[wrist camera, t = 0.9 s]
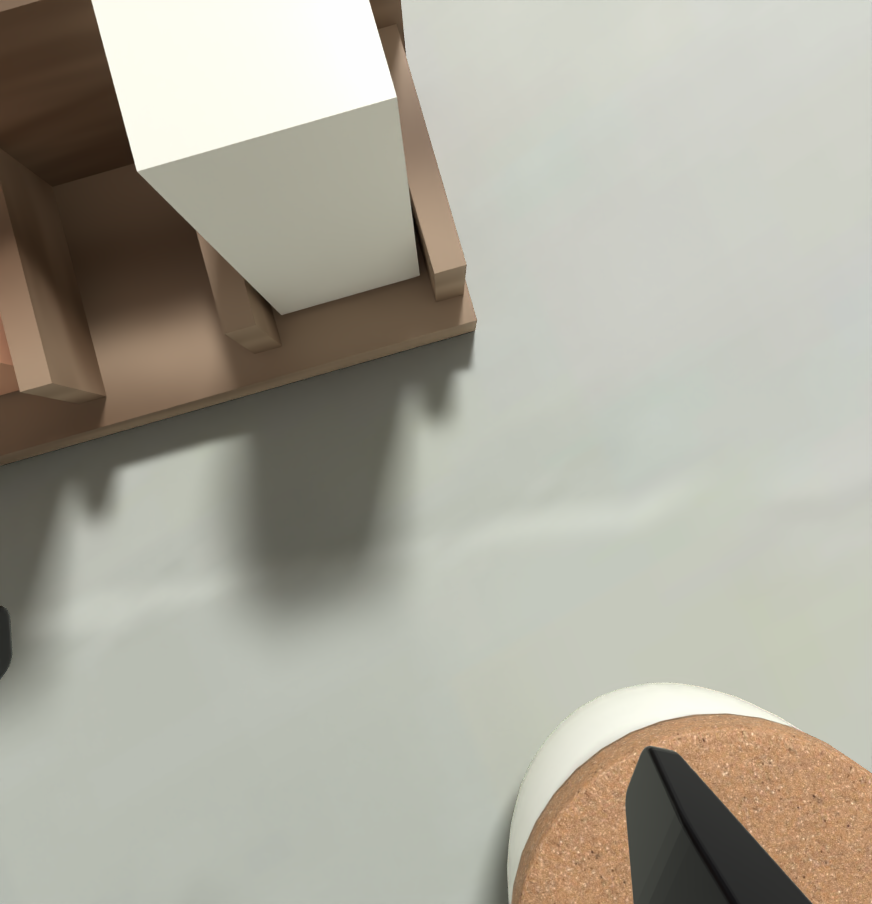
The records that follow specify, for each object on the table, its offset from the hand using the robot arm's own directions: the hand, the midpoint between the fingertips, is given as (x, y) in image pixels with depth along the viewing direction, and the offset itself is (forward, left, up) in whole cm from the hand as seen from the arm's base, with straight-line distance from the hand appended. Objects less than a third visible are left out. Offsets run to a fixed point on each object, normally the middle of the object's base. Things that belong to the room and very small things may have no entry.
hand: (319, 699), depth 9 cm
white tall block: (+7, +9, -12) cm, 17 cm away
